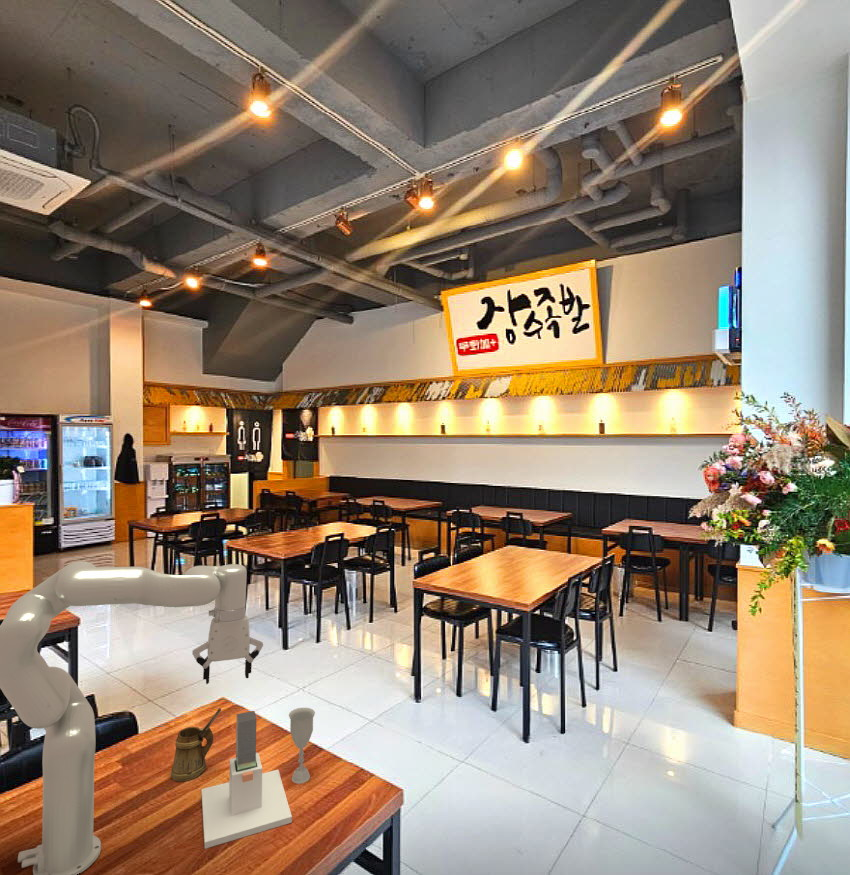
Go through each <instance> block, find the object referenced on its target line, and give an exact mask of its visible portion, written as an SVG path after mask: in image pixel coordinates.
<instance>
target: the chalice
mask: <svg viewBox="0 0 850 875" xmlns="http://www.w3.org/2000/svg"><path fill="white" fill-rule="evenodd" d="M315 714H316V711H315V710H314V709H312V708H310V707H298V708H293V710H291V711H290V712H289V713H288V717H289V719H290V723H289V724H290V727H289V728H290V735H291V739H292V741H293V743H294V745H295V747H296V748H298V749H299V751H298V756H299V759H298V760H297V762H298V764H299V765H298V767H297V768H295V769H294V772H293V774H292V777H291V781H292V782H293V783H294V784H297V785H298V784H299V785H300V784H305V783H306V782H308V781H309V780H310V779H311V775H310V772H309V770H308V768H307V766H304V762H305V758H304V755H305V752H304V748H306V747H307V745H308V743H309V741H310V739H311V737H312V734H313V731H314V717H315Z"/></svg>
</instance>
